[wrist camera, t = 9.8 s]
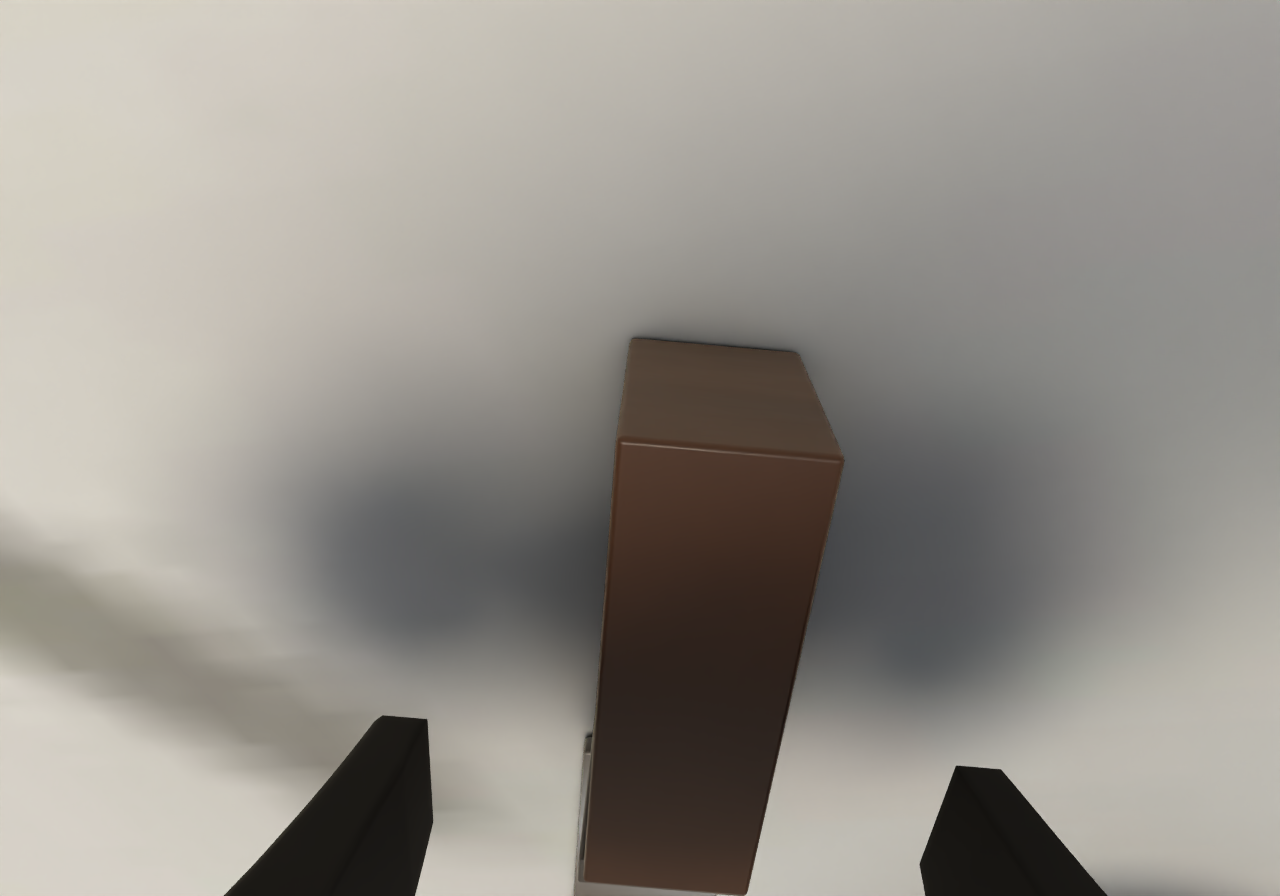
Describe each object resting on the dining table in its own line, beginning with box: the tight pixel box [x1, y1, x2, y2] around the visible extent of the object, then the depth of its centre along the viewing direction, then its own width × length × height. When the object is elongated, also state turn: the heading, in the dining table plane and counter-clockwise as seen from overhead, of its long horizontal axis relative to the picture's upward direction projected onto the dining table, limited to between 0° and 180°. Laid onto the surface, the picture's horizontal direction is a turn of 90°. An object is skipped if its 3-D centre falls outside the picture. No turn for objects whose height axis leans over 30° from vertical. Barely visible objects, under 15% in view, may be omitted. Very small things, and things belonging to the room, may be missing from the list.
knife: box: [574, 338, 845, 896], centre depth 14 cm, size 19×3×3 cm, turn 175°
